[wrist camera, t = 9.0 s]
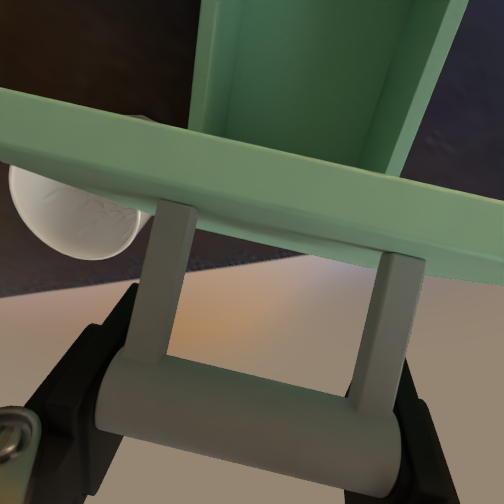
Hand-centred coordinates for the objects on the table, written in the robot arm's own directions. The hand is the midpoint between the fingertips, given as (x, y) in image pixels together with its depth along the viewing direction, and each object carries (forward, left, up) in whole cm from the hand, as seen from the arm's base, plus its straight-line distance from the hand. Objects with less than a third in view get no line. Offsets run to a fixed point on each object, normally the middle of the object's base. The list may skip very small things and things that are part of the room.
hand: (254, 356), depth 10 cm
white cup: (+3, -12, -22) cm, 25 cm away
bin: (-6, 0, -22) cm, 22 cm away
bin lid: (-2, 0, -5) cm, 5 cm away
